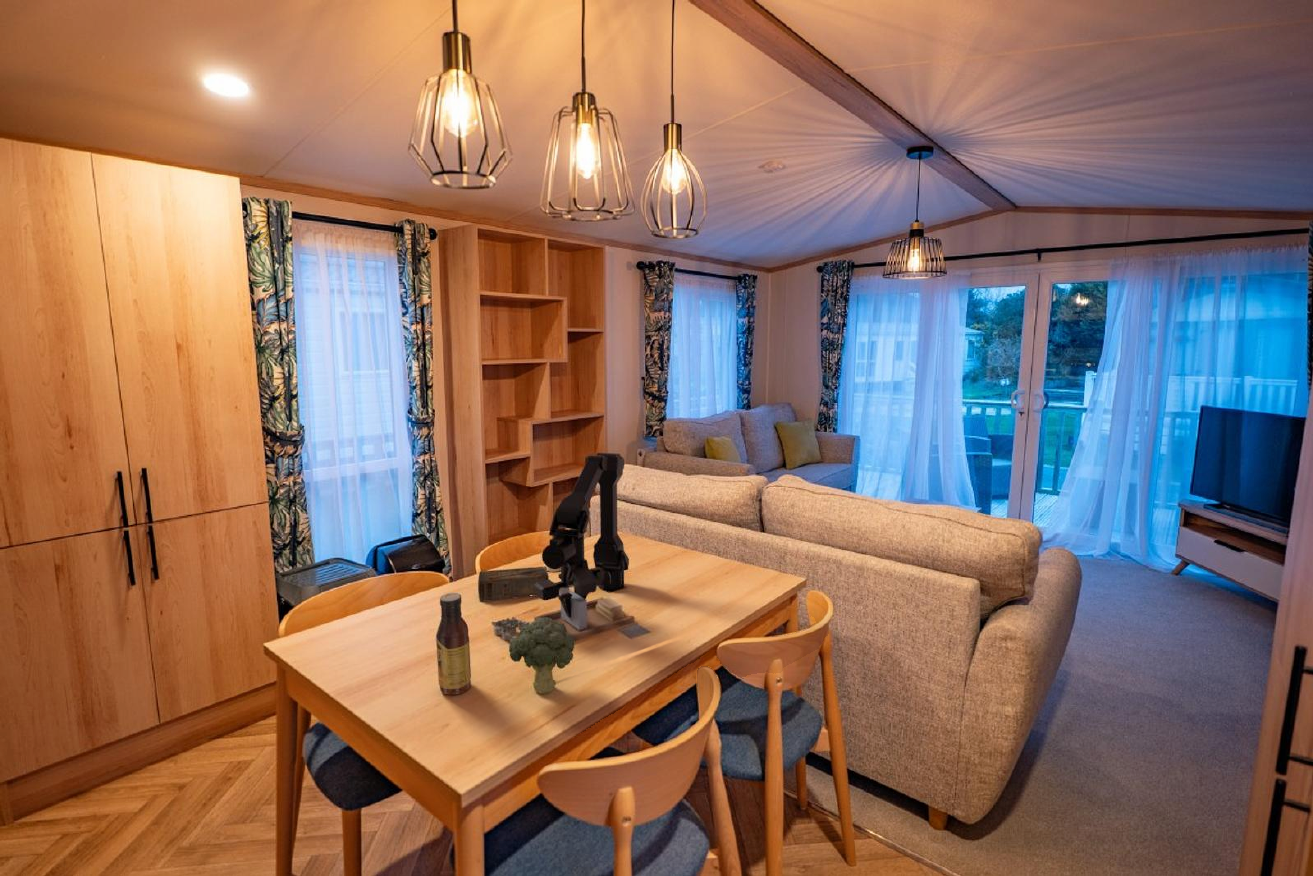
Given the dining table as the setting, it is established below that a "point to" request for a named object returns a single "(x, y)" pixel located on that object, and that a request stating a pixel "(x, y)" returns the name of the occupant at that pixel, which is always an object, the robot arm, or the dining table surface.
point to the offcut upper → (609, 605)
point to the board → (576, 612)
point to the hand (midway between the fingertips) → (573, 616)
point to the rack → (589, 621)
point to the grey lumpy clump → (508, 627)
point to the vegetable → (543, 650)
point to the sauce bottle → (453, 647)
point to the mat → (633, 630)
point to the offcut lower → (610, 616)
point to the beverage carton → (509, 582)
